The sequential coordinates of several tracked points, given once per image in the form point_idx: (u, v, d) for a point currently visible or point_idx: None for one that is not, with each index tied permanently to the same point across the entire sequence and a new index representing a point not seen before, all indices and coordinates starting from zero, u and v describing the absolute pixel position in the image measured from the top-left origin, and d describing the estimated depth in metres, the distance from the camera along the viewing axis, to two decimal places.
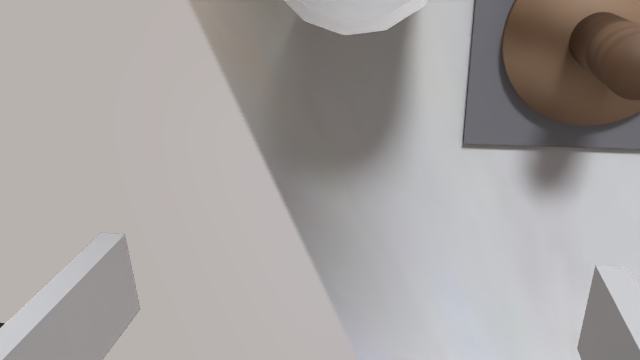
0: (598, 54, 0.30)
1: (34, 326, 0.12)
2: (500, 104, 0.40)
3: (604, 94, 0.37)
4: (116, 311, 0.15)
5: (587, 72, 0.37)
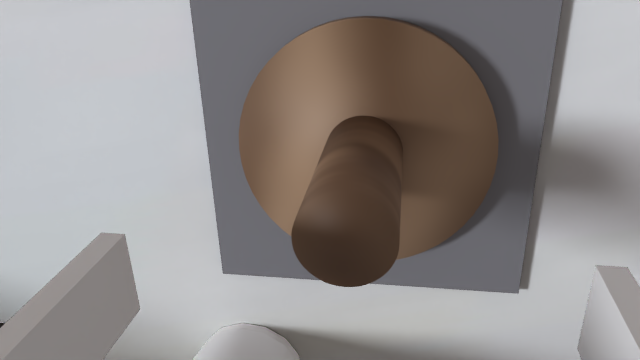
0: None
1: (34, 326, 0.12)
2: (459, 250, 0.27)
3: (446, 132, 0.24)
4: (116, 311, 0.15)
5: (411, 160, 0.25)
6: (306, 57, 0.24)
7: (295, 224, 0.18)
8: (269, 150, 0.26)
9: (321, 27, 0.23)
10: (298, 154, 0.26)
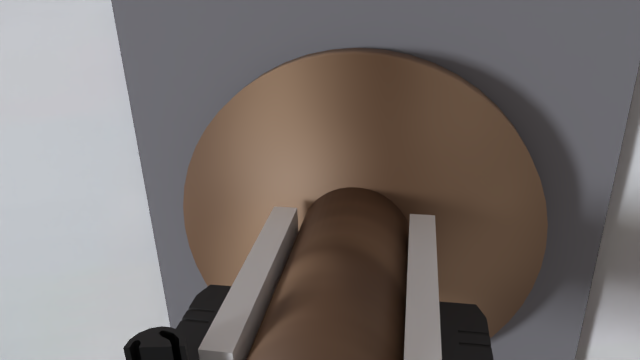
0: None
1: (262, 284, 0.13)
2: None
3: (472, 213, 0.17)
4: None
5: None
6: (271, 106, 0.16)
7: None
8: (226, 229, 0.19)
9: (292, 65, 0.16)
10: None
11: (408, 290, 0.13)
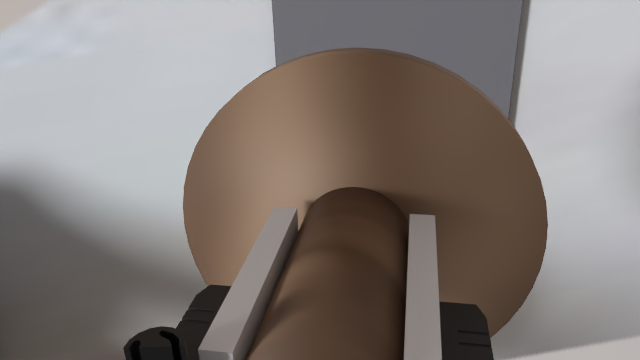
0: None
1: (262, 284, 0.13)
2: None
3: (472, 213, 0.17)
4: None
5: None
6: (271, 106, 0.16)
7: None
8: (226, 229, 0.19)
9: (292, 65, 0.16)
10: None
11: (408, 290, 0.13)
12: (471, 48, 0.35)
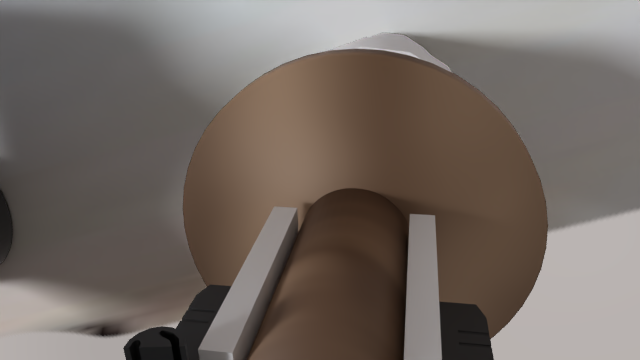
0: None
1: (262, 284, 0.13)
2: None
3: (471, 214, 0.17)
4: None
5: None
6: (271, 107, 0.16)
7: None
8: (226, 230, 0.19)
9: (292, 66, 0.16)
10: None
11: (408, 290, 0.13)
12: None
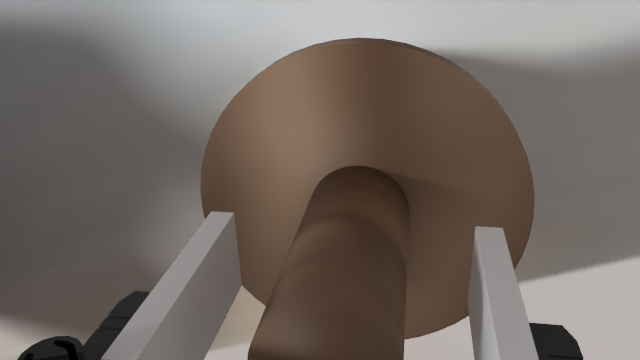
0: None
1: (181, 291, 0.13)
2: None
3: (464, 188, 0.18)
4: (228, 284, 0.16)
5: (419, 221, 0.19)
6: (281, 92, 0.18)
7: (253, 348, 0.12)
8: (240, 207, 0.20)
9: (300, 54, 0.17)
10: (276, 212, 0.20)
11: (493, 311, 0.12)
12: None
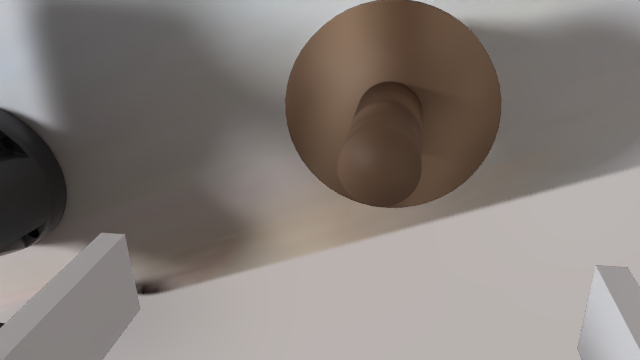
0: None
1: (34, 326, 0.12)
2: None
3: (457, 94, 0.29)
4: (116, 311, 0.15)
5: (428, 118, 0.30)
6: (342, 33, 0.29)
7: (341, 156, 0.23)
8: (311, 113, 0.31)
9: (354, 8, 0.28)
10: (335, 115, 0.31)
11: None
12: None
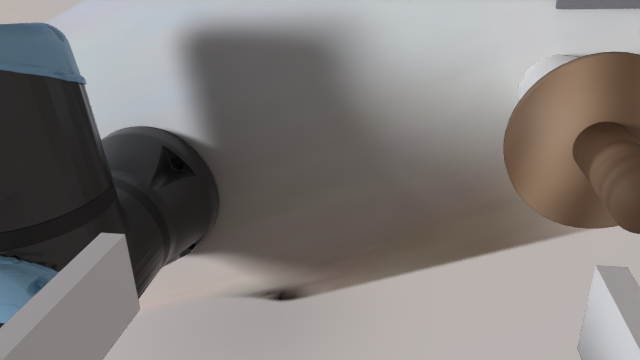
0: None
1: (34, 326, 0.12)
2: None
3: None
4: (116, 311, 0.15)
5: None
6: (570, 81, 0.34)
7: (617, 192, 0.28)
8: (529, 147, 0.36)
9: (585, 60, 0.33)
10: (551, 150, 0.36)
11: None
12: None
